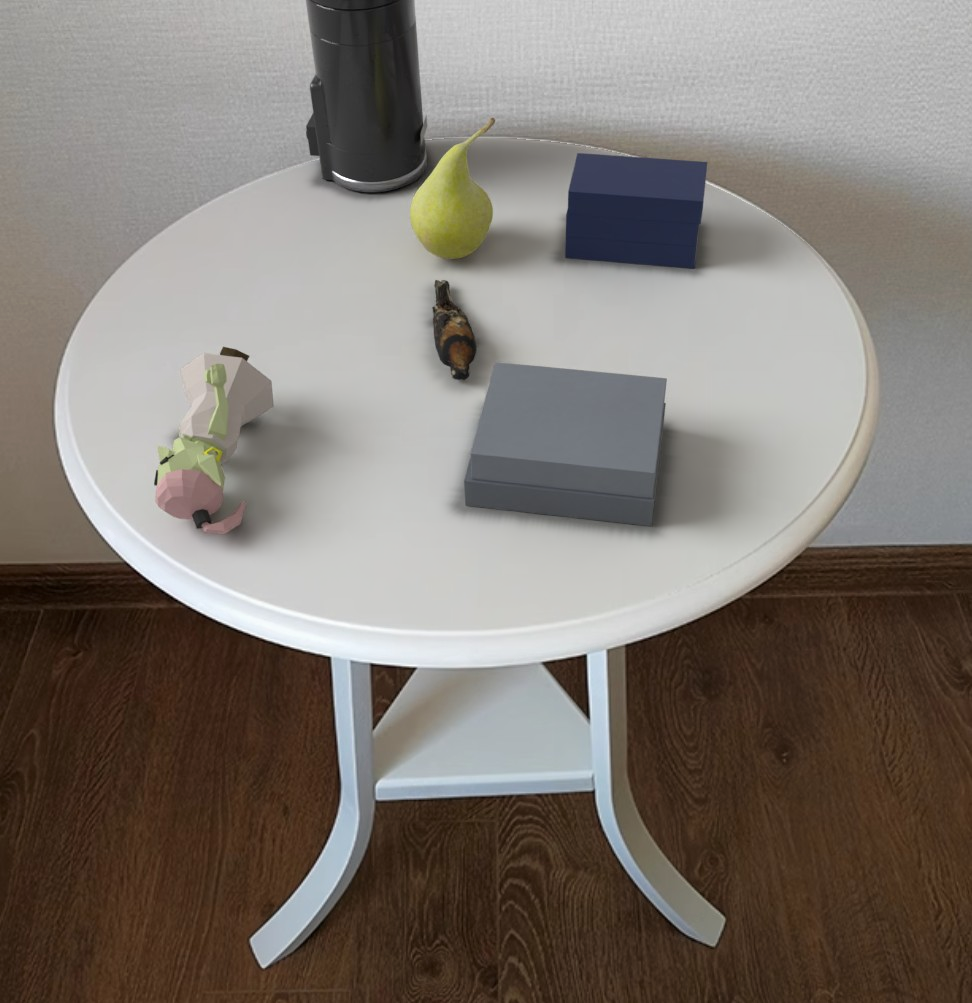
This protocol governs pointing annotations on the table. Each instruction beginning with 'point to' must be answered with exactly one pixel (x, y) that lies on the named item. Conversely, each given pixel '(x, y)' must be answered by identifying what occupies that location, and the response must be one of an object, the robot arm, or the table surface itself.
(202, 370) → the figurine
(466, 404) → the table surface
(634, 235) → the navy stack
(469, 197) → the fruit
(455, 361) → the bird model
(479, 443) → the grey stack
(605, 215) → the navy book
